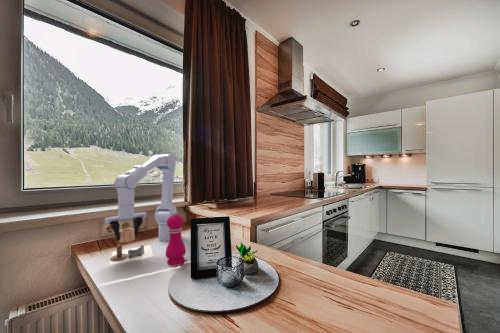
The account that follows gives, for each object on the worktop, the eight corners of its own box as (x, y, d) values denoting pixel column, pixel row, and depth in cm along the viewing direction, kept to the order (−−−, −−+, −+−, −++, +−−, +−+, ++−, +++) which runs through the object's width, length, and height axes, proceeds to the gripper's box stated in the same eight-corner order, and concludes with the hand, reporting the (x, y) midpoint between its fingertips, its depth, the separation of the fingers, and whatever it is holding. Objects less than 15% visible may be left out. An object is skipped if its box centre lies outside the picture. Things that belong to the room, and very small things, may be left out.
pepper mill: (179, 268, 78) (178, 212, 78) (161, 267, 79) (160, 212, 80) (189, 260, 85) (188, 209, 85) (172, 259, 86) (171, 209, 87)
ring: (134, 237, 91) (134, 227, 91) (135, 240, 86) (134, 230, 86) (118, 239, 88) (118, 229, 88) (118, 243, 83) (118, 232, 83)
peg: (128, 254, 91) (127, 241, 91) (127, 258, 86) (127, 246, 86) (111, 257, 88) (111, 244, 88) (110, 262, 83) (109, 249, 83)
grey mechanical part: (143, 251, 93) (143, 245, 93) (144, 255, 89) (144, 248, 89) (128, 254, 90) (128, 247, 90) (128, 258, 86) (128, 251, 86)
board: (150, 246, 101) (150, 245, 101) (153, 258, 87) (153, 256, 87) (112, 253, 94) (112, 251, 94) (109, 267, 80) (109, 265, 80)
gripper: (142, 201, 95) (142, 232, 95) (103, 205, 85) (103, 240, 85) (147, 202, 90) (148, 235, 90) (106, 207, 80) (107, 244, 80)
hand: (126, 238), depth 87 cm, fingers closed on ring, 6 cm apart
